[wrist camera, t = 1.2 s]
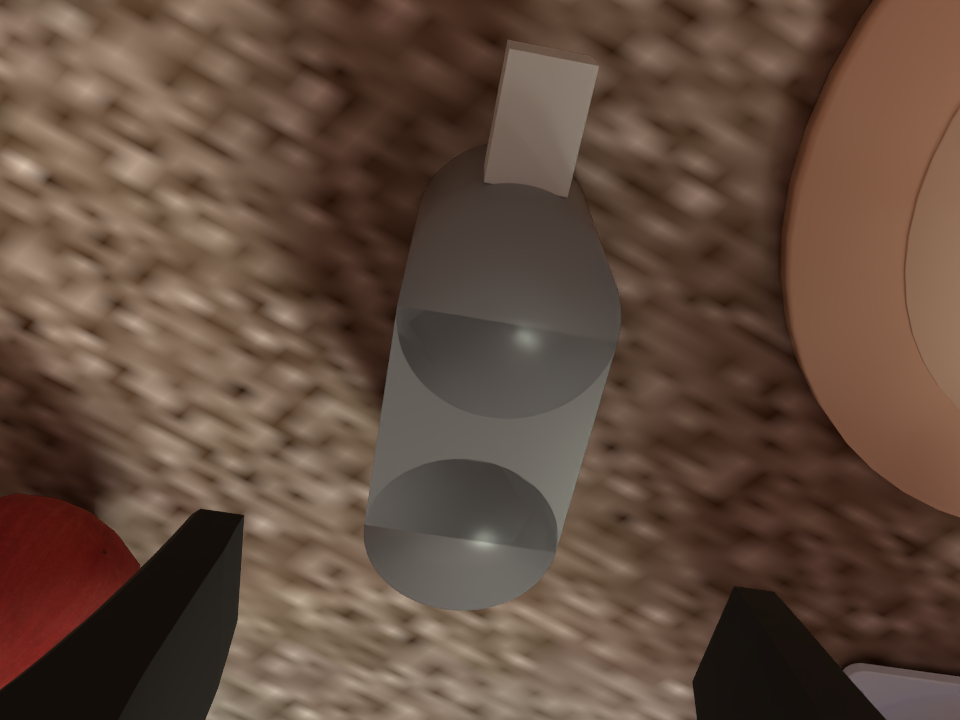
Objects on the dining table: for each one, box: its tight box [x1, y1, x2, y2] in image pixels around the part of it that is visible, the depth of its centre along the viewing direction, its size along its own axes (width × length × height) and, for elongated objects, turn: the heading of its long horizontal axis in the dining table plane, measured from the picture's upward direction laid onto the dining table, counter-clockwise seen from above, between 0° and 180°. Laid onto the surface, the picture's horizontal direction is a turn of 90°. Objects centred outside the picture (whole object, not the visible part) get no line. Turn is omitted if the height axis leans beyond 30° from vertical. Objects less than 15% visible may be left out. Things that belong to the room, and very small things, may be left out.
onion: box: [0, 494, 140, 689], centre depth 20 cm, size 6×6×8 cm
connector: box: [364, 40, 621, 610], centre depth 18 cm, size 11×4×5 cm, turn 170°
